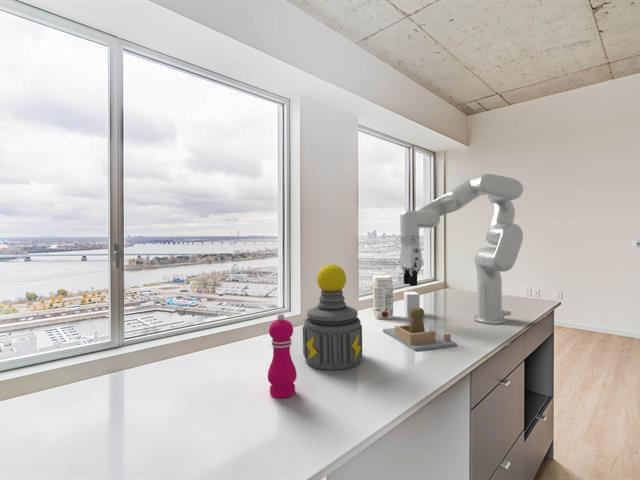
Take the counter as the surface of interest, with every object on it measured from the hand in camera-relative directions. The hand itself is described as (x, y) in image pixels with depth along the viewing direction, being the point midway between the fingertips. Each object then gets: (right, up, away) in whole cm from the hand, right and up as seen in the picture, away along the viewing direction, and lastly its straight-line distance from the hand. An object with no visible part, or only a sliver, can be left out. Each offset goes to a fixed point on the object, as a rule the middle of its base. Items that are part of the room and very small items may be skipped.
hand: (410, 284), depth 151 cm
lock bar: (+3, -16, -9) cm, 19 cm away
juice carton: (-9, -17, +16) cm, 25 cm away
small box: (+5, -17, +19) cm, 26 cm away
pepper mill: (-47, -20, -59) cm, 78 cm away
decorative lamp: (-33, -19, -37) cm, 53 cm away
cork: (-3, -17, -20) cm, 26 cm away
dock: (-2, -18, -17) cm, 24 cm away
